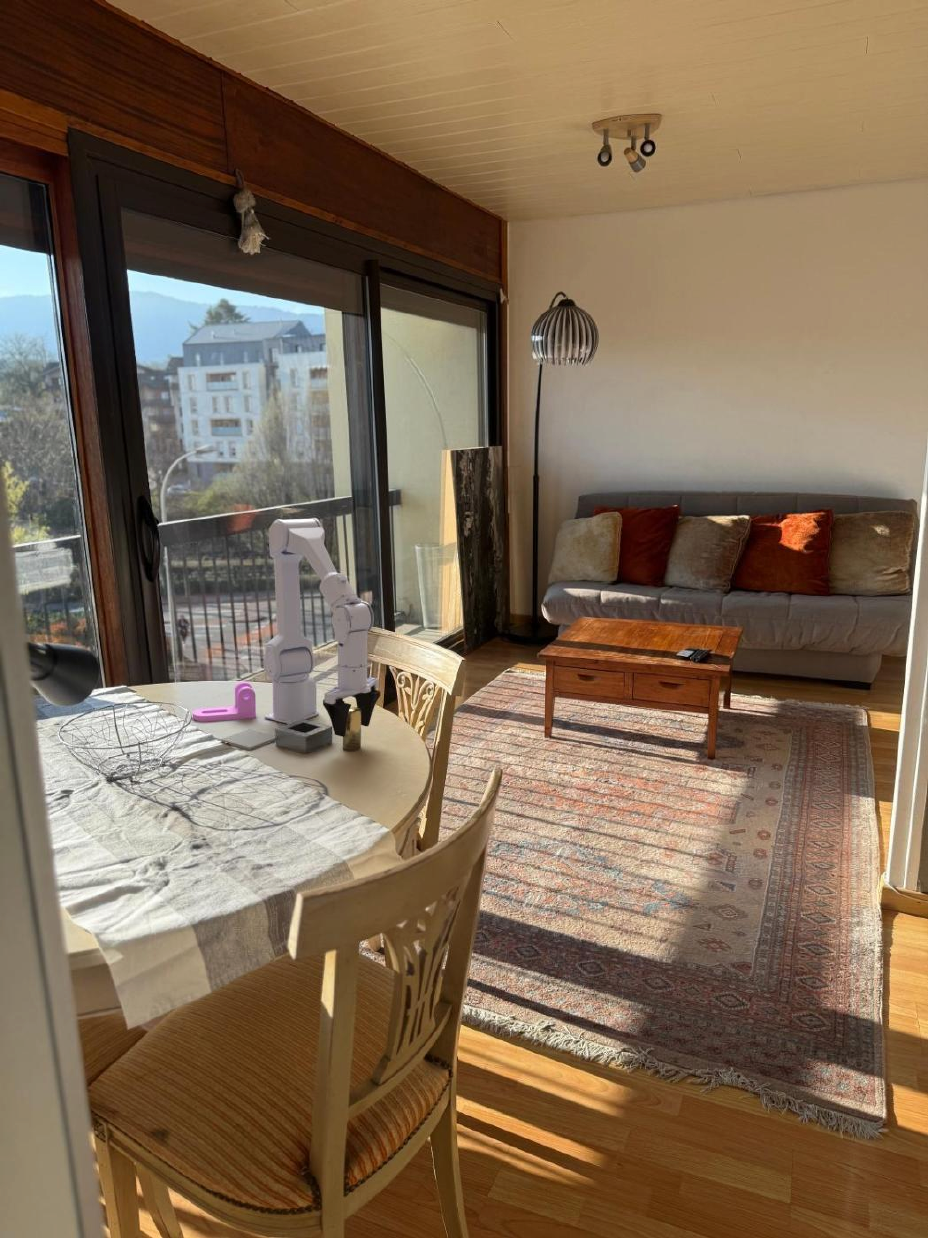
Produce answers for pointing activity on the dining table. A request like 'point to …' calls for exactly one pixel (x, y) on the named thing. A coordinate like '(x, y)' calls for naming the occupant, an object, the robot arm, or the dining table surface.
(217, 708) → the bracket
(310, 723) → the block
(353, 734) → the key peg
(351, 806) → the dining table surface
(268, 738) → the mat
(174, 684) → the dining table surface
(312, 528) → the robot arm
